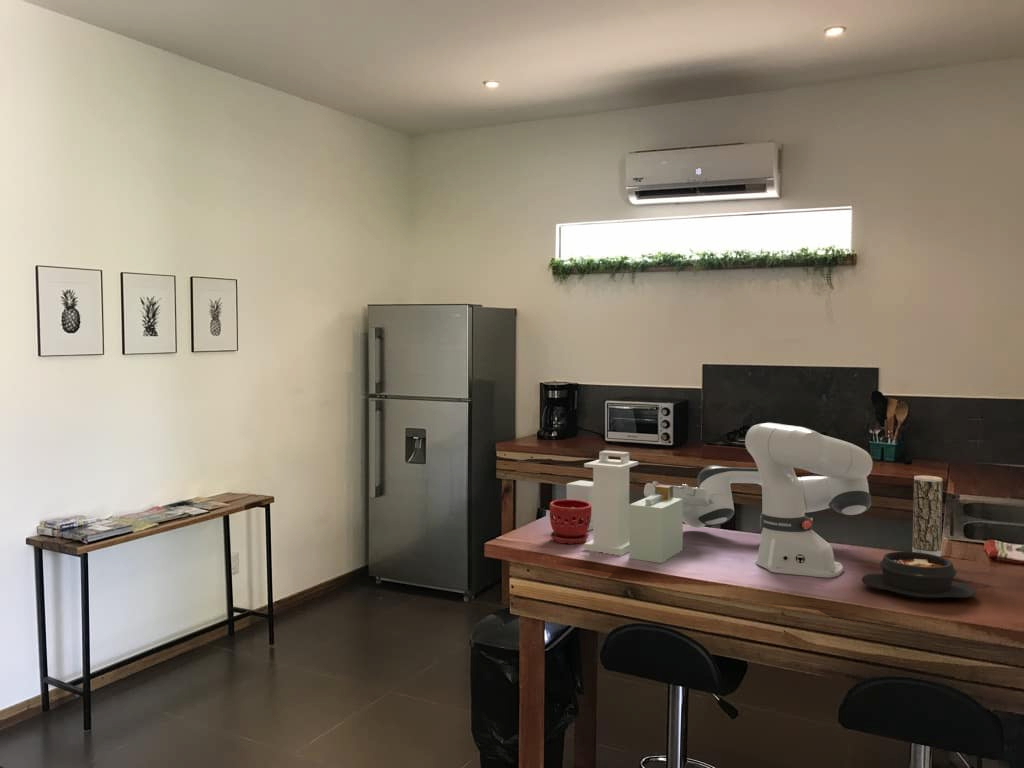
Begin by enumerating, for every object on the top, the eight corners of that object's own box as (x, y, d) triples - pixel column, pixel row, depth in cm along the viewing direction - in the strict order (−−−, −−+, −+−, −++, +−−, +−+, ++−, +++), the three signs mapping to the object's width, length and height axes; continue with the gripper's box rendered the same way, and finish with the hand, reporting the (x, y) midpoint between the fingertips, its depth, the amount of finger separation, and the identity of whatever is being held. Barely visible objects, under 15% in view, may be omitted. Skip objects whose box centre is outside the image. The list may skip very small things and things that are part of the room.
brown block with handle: (673, 497, 236) (673, 485, 236) (655, 506, 225) (655, 493, 225) (660, 496, 239) (660, 484, 239) (641, 504, 227) (641, 492, 227)
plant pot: (553, 546, 241) (553, 507, 240) (546, 536, 254) (546, 499, 253) (595, 545, 243) (595, 506, 242) (586, 535, 256) (586, 498, 255)
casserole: (860, 597, 192) (861, 563, 191) (861, 576, 209) (862, 545, 208) (980, 611, 182) (981, 574, 181) (970, 588, 198) (971, 555, 198)
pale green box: (682, 550, 236) (682, 498, 235) (661, 563, 222) (662, 508, 222) (651, 546, 241) (651, 495, 240) (629, 558, 228) (629, 504, 227)
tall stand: (637, 546, 240) (638, 451, 239) (621, 555, 230) (621, 456, 229) (602, 541, 247) (602, 449, 245) (584, 550, 237) (584, 453, 235)
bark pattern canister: (925, 573, 211) (927, 480, 210) (906, 566, 217) (908, 476, 216) (946, 571, 213) (948, 479, 211) (926, 564, 219) (928, 475, 218)
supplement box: (603, 526, 268) (603, 482, 267) (588, 531, 261) (588, 486, 260) (581, 522, 273) (580, 479, 272) (565, 527, 266) (565, 483, 266)
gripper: (713, 514, 244) (700, 498, 233) (651, 507, 255) (636, 491, 244) (717, 494, 246) (704, 478, 236) (655, 488, 257) (640, 472, 247)
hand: (669, 485), depth 240 cm, fingers open, 8 cm apart
